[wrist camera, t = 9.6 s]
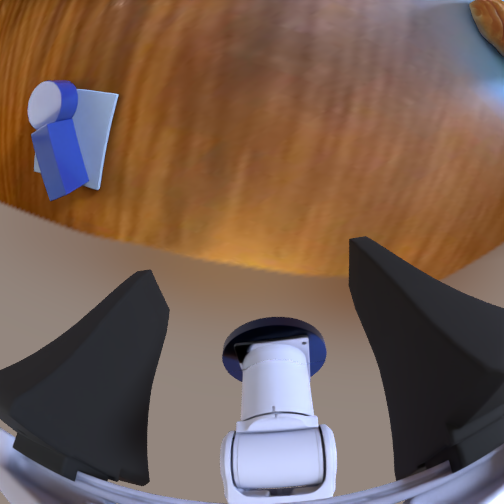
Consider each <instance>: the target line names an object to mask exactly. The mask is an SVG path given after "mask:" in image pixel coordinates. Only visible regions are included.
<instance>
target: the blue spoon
mask: <svg viewBox="0 0 504 504" xmlns="http://www.w3.org/2000/svg"><path fill="white" fill-rule="evenodd" d="M77 105H78V93H77V89H76V87H75V86H74V84H73V83H71V82H70V81H67V80H49V81H44V82H42V83H40V84H39V85H38V86H37V87H36V88H35V89H34V91H33V92H32V94H31V97H30V99H29V103H28V118H29V121H30V123H31V125H32V127H33V128H35V129H36V131H35V132H33V133H32V134H31V138H32V142H33V146H34V150H35V154H36V158H37V161H38V165H39V168H40V172H41V175H42V178H43V181H44V184H45V188H46V191H47V193H48V196H49V199H50V201H53V200H55V199H58V198H60V197H63V196H65V195H67V194H69V193H71V192H72V191H74V190H76V189H77V188H79V187H80V186H82V185H84V184H86V183H87V182H89V178H88V175H87V171H86V168H85V165H84V161H83V158H82V154H81V151H80V147H79V143H78V139H77V135H76V131H75V127H74V123H73V119H72V117H73V116H74V114H75V112H76V109H77Z"/></svg>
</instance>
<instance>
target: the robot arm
mask: <svg viewBox="0 0 504 504" xmlns="http://www.w3.org/2000/svg"><path fill="white" fill-rule="evenodd" d="M349 288H350V292H351V295H352V299H353V302H354V305H355V309H356V311H357V314H358V316H359V318H360V321H361V323H362V326H363V328H364V330H365V333H366V335H367V338H368V340H369V343H370V345H371V347H372V350H373V352H374V355H375V357H376V360H377V363H378V367H379V370H380V374H381V378H382V382H383V386H384V391H385V395H386V401H387V406H388V411H389V417H390V423H391V431H392V439H393V451H394V470H395V476H396V481H395V482H392V483H389V484H385V485H382V486H379V487H375V488H372V489H368V490H364V491H360V492H355V493H351V494H346V495H341V496H336V497H333V492H334V491H335V476H336V471H337V453H336V444H335V439H334V435H333V432H332V430H331V429H330V428H328V427H327V426H326V425H325V424H322V425H318V418H317V416H314V412H313V404H312V396H311V389H310V358H309V339H308V336H307V335H299V336H292V337H285V338H277V339H269V340H260V341H251V342H241V343H236V344H234V350H235V353H236V355H237V358H238V361H239V364H240V366H241V369H242V372H243V381H242V403H241V421H238V422H236V423H237V424H236V431H229V432H228V434H227V435H226V436H225V437H224V438H223V440H222V444H221V450H220V470H221V477H222V480H223V483H224V491H225V498H227V502H228V503H229V504H395V503H398V502H401V501H404V500H405V502H404V503H403V504H504V308H501V307H498V306H495V305H492V304H490V303H486V302H484V301H482V300H479V299H477V298H474V297H472V296H469V295H467V294H465V293H462V292H460V291H458V290H456V289H454V288H452V287H450V286H448V285H446V284H444V283H442V282H440V281H438V280H436V279H434V278H433V277H431V276H429V275H427V274H426V273H424V272H422V271H421V270H419V269H417V268H415V267H414V266H412V265H411V264H409V263H407V262H406V261H404V260H403V259H401V258H400V257H398V256H396V255H395V254H393V253H392V252H390V251H389V250H387V249H386V248H384V247H383V246H381V245H379V244H378V243H376V242H375V241H373V240H371V239H370V238H368V237H366V236H365V237H358V238H352V239H349ZM169 311H170V310H169V307H168V305H167V303H166V301H165V299H164V297H163V295H162V293H161V291H160V289H159V286H158V285H157V282H156V280H155V278H154V276H153V273H152V271H151V270H144V271H137V272H136V273H135V274H133V275H132V276H130V277H129V278H128V279H127V280H125V281H124V282H123V283H122V284H120V285H119V286H118V287H117V288H116V289H115V290H114V291H113V292H111V293H110V294H109V295H108V296H107V297H106V298H105V299H104V300H103V301H102V302H101V303H99V304H98V305H97V306H96V307H95V308H94V309H92V310H91V311H90V312H89V313H88V314H87V315H86V316H84V317H83V318H82V319H81V320H80V321H79V322H78V323H76V324H75V325H74V326H73V327H71V328H70V329H69V330H68V331H66V332H65V333H63V334H62V335H61V336H60V337H58V338H57V339H55V340H54V341H52V342H51V343H49V344H48V345H46V346H45V347H43V348H42V349H40V350H39V351H37V352H36V353H34V354H32V355H30V356H28V357H27V358H25V359H23V360H21V361H19V362H17V363H15V364H13V365H11V366H9V367H6V368H4V369H2V370H0V419H1V420H2V421H3V422H4V423H6V424H7V425H8V426H10V427H11V428H12V429H13V430H15V431H16V432H18V433H17V436H16V438H15V437H14V436H12V435H11V434H10V433H8V432H6V431H5V430H3V429H2V428H0V491H1V492H2V493H3V494H4V496H5V497H6V498H7V500H8V501H9V502H10V504H116V503H118V504H224V503H210V502H200V501H191V500H184V499H178V498H172V497H166V496H161V495H156V494H151V493H146V492H142V491H138V490H134V489H131V488H127V487H123V486H120V485H116V484H113V483H110V482H107V480H108V479H110V480H113V481H116V482H117V481H118V480H120V481H124V482H128V483H132V484H136V485H140V486H144V485H146V484H147V483H149V481H150V480H149V471H148V460H147V426H148V411H149V403H150V395H151V389H152V383H153V379H154V376H155V372H156V368H157V365H158V361H159V358H160V354H161V350H162V347H163V343H164V340H165V336H166V332H167V326H168V319H169ZM305 485H307V486H305ZM296 486H302V487H296ZM284 487H292V488H284ZM262 488H277V489H262Z"/></svg>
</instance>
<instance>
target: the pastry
mask: <svg viewBox="0 0 504 504" xmlns="http://www.w3.org/2000/svg"><path fill="white" fill-rule="evenodd" d="M469 7H470V9H471V13H472V16H473V19H474V21H475V23H476V25H477V28H478V30H479V32H480V33H481V34H482V36H483V37H484V38H485V39H487V41H488V42H489V43H491V44H492V45H493V46H494V47H495V48H496V49H497V51H498V52H499V53H500V54H501V55H502V56H503V57H504V1H501V0H475V1H473V2H471V3H470V4H469Z"/></svg>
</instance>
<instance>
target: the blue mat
mask: <svg viewBox="0 0 504 504" xmlns="http://www.w3.org/2000/svg"><path fill="white" fill-rule="evenodd" d="M77 93H78V105H77V109H76V112H75V114H74V116H73V117H72V119H73V123H74V127H75V131H76V135H77V139H78V143H79V147H80V151H81V154H82V158H83V161H84V165H85V168H86V171H87V175H88V178H89V182H87V183H86V184H84V185H82V186H86V187H89V188H92V189H95V190H98V189H100V184H101V177H102V170H103V164H104V158H105V152H106V147H107V142H108V137H109V132H110V127H111V123H112V119H113V115H114V110H115V107H116V103H117V99H118V94H113V93H106V92H99V91H92V90H83V89H77ZM34 171H35V172H39V173H41V172H40V168H39V165H38V161H37V158H36V154H35V161H34Z"/></svg>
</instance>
